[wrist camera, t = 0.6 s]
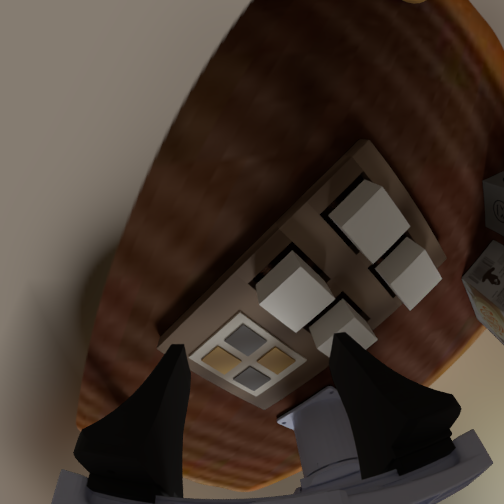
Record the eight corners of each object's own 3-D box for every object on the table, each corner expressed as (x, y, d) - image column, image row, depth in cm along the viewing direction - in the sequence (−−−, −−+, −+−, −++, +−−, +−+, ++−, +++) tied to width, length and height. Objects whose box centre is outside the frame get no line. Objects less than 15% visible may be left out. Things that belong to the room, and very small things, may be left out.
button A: (365, 321, 23) (377, 339, 20) (334, 347, 24) (343, 367, 21) (342, 298, 22) (354, 317, 19) (308, 327, 23) (316, 348, 20)
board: (436, 251, 23) (448, 259, 21) (262, 398, 28) (264, 412, 26) (359, 138, 19) (371, 140, 17) (160, 337, 24) (155, 351, 22)
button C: (424, 264, 21) (441, 278, 19) (395, 294, 22) (410, 310, 20) (406, 236, 20) (424, 249, 18) (374, 268, 21) (389, 284, 19)
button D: (391, 215, 19) (410, 226, 17) (358, 249, 20) (373, 263, 18) (364, 179, 18) (382, 186, 16) (328, 215, 19) (341, 227, 17)
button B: (324, 280, 21) (335, 299, 19) (289, 312, 22) (295, 332, 19) (292, 250, 20) (300, 266, 18) (255, 284, 21) (258, 304, 18)
